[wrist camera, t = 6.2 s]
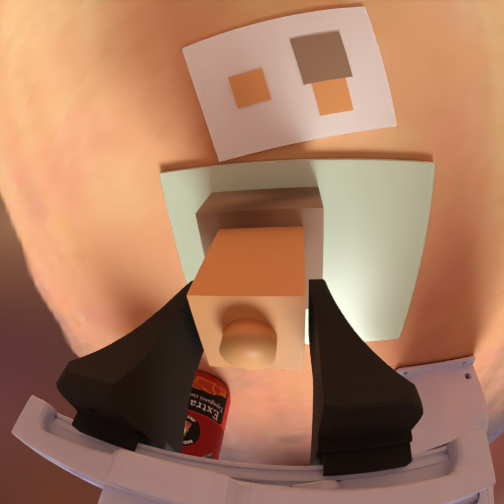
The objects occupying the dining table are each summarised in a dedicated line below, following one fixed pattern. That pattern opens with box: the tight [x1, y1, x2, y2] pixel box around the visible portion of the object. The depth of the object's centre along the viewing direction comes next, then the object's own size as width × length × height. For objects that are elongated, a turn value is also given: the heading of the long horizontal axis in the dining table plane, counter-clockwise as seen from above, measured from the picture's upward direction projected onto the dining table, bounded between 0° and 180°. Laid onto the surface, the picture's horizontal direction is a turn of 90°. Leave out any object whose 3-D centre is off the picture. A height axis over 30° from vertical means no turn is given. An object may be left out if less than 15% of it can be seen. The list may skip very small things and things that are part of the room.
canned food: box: [182, 370, 230, 460], centre depth 24 cm, size 8×8×11 cm
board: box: [159, 158, 435, 344], centre depth 18 cm, size 16×14×1 cm
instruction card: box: [181, 6, 397, 162], centre depth 13 cm, size 10×7×1 cm
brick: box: [187, 226, 306, 370], centre depth 12 cm, size 4×4×6 cm
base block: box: [196, 187, 324, 309], centre depth 16 cm, size 6×6×3 cm
